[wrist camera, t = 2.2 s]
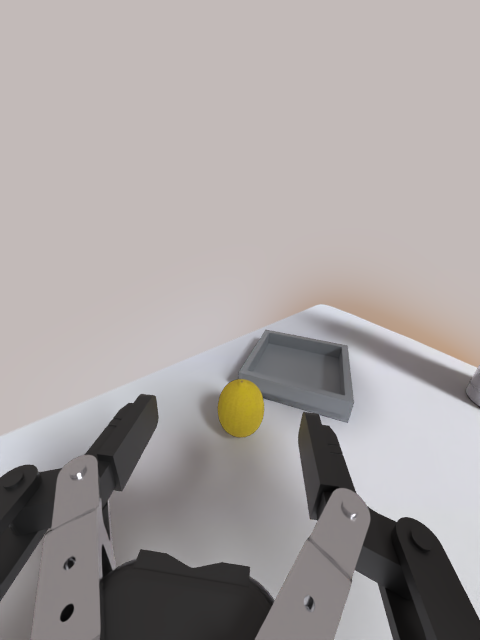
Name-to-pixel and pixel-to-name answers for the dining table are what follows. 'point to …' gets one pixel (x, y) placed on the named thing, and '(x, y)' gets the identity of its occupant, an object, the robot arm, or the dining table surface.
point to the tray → (302, 373)
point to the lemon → (240, 408)
